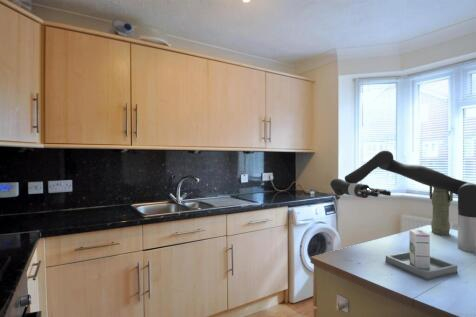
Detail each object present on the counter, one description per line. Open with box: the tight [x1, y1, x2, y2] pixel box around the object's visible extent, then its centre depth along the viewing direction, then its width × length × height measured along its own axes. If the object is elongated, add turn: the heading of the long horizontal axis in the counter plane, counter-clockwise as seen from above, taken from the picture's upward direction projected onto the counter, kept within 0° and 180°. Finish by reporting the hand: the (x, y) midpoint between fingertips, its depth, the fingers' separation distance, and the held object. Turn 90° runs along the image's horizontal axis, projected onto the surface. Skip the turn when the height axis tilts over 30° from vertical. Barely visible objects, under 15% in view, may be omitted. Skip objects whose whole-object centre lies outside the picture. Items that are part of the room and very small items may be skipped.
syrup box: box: [408, 229, 431, 269], centre depth 113 cm, size 6×6×14 cm
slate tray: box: [385, 251, 458, 281], centre depth 113 cm, size 18×18×3 cm
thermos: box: [429, 186, 454, 236], centre depth 161 cm, size 9×12×35 cm
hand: (384, 194), depth 133 cm, fingers open, 8 cm apart
